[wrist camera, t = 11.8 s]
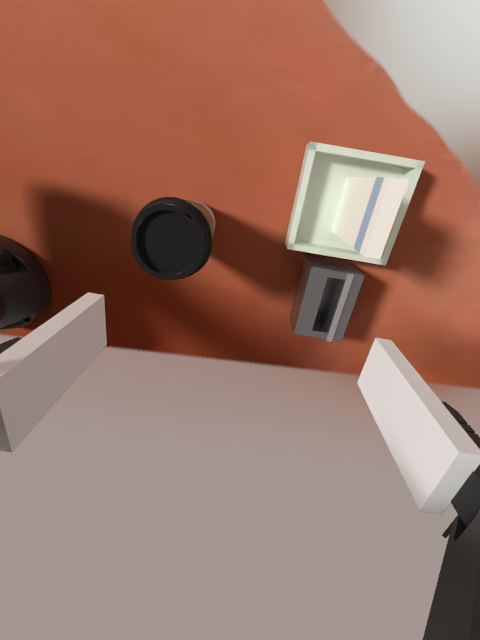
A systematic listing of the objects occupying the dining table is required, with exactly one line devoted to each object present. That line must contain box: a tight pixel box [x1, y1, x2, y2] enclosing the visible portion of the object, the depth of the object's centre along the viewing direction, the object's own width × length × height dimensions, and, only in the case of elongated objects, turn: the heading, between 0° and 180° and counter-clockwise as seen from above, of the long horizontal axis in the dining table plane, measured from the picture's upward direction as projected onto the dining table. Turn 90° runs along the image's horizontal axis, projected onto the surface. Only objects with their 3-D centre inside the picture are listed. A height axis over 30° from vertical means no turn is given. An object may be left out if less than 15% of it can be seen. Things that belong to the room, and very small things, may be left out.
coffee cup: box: [130, 197, 216, 280], centre depth 36 cm, size 8×8×15 cm
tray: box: [285, 142, 425, 266], centre depth 39 cm, size 14×13×4 cm
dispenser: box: [290, 256, 365, 342], centre depth 43 cm, size 7×10×7 cm
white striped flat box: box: [332, 177, 409, 259], centre depth 34 cm, size 2×7×14 cm, turn 171°
